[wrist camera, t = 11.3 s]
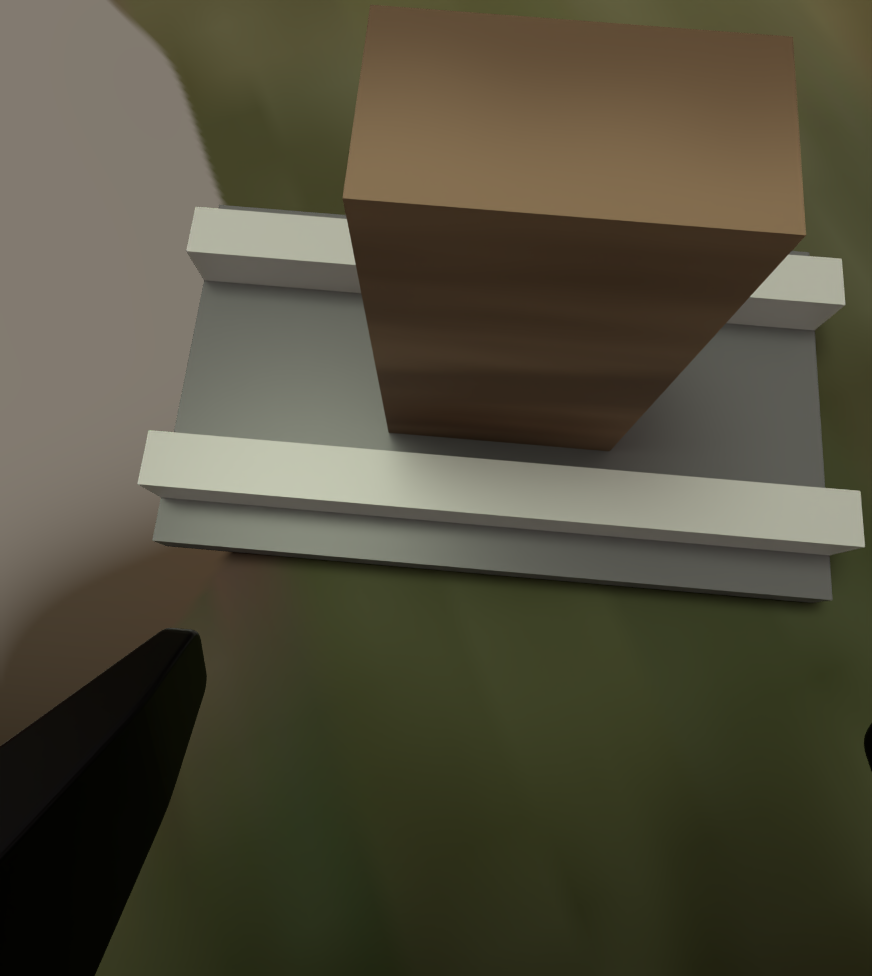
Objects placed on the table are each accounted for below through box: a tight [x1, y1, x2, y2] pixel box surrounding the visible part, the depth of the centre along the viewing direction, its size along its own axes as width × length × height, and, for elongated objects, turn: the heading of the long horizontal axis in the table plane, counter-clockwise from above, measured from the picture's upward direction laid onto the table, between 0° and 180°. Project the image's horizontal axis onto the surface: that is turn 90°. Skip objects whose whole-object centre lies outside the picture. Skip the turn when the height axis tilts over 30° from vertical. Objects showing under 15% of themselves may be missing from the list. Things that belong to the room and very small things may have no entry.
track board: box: [138, 205, 865, 603], centre depth 19 cm, size 11×19×2 cm, turn 85°
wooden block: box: [343, 5, 806, 451], centre depth 14 cm, size 4×6×10 cm, turn 85°
